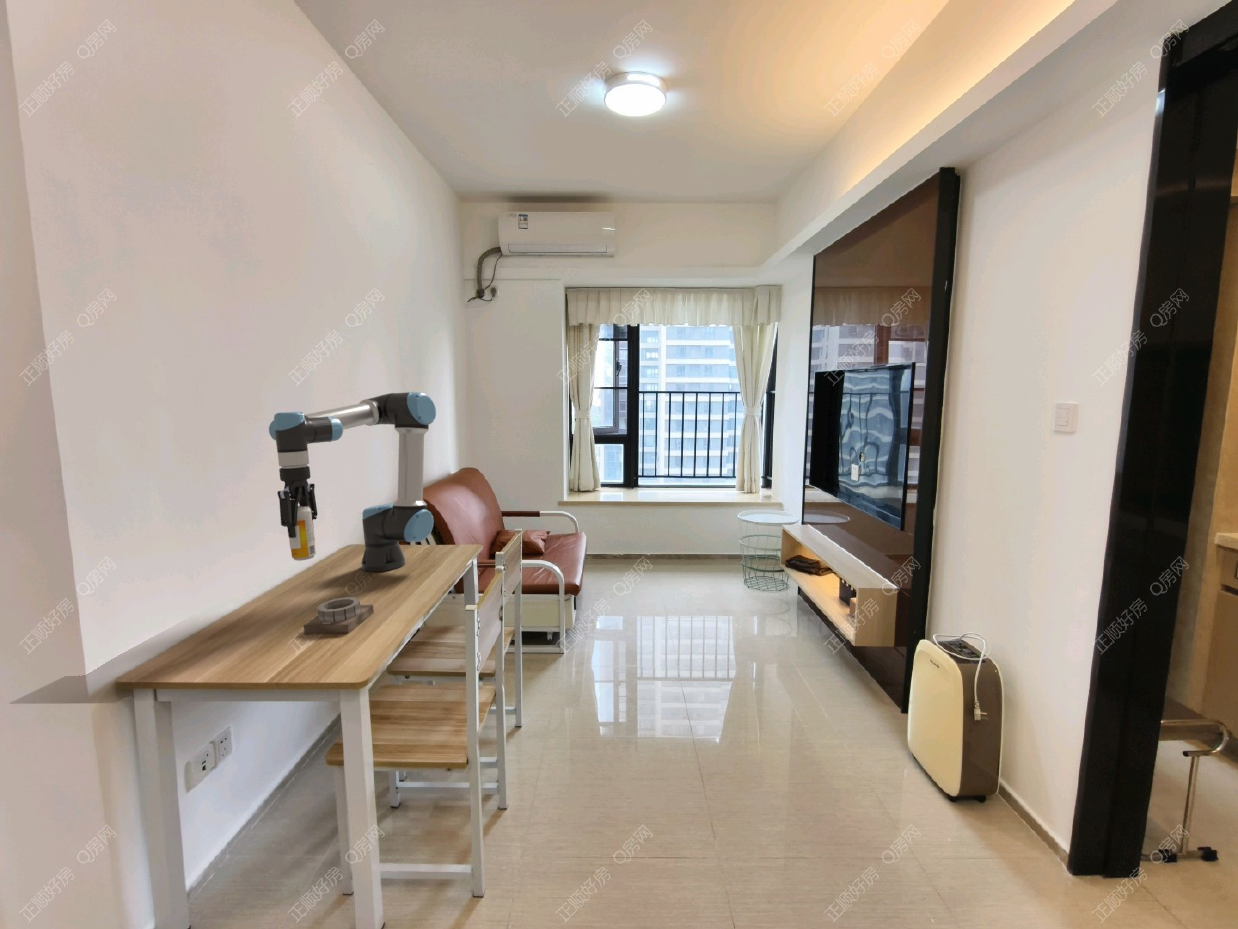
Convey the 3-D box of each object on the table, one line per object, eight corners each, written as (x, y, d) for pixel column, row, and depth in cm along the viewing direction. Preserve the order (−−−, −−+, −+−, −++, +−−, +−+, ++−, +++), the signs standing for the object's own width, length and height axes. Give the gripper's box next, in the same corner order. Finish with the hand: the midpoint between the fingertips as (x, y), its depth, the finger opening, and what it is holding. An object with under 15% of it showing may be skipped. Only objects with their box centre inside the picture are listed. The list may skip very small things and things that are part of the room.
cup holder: (333, 613, 161) (332, 595, 160) (373, 613, 160) (372, 594, 160) (304, 634, 147) (302, 614, 146) (348, 633, 146) (346, 613, 146)
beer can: (300, 555, 164) (294, 505, 162) (320, 554, 163) (315, 505, 161) (287, 561, 158) (281, 510, 156) (308, 560, 157) (302, 509, 155)
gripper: (301, 462, 167) (309, 536, 170) (258, 471, 148) (268, 554, 151) (326, 461, 166) (333, 536, 169) (285, 470, 147) (294, 554, 150)
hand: (302, 544), depth 160 cm, fingers closed on beer can, 6 cm apart
